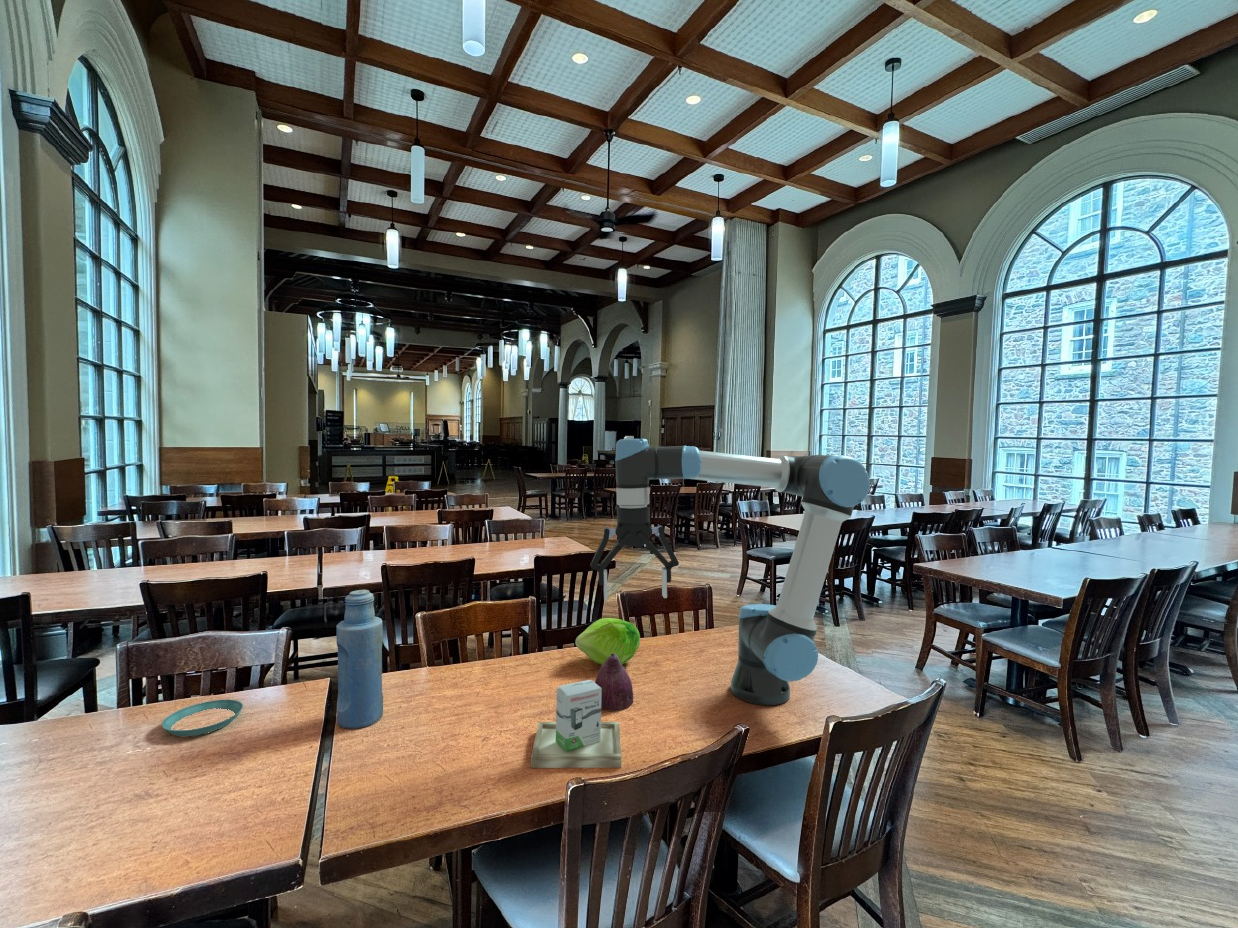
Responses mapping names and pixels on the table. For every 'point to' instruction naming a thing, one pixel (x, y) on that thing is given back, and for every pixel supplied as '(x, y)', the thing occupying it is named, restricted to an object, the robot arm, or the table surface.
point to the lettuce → (609, 640)
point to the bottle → (359, 663)
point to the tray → (584, 757)
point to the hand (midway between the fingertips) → (635, 597)
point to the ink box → (578, 715)
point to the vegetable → (614, 685)
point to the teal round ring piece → (176, 716)
